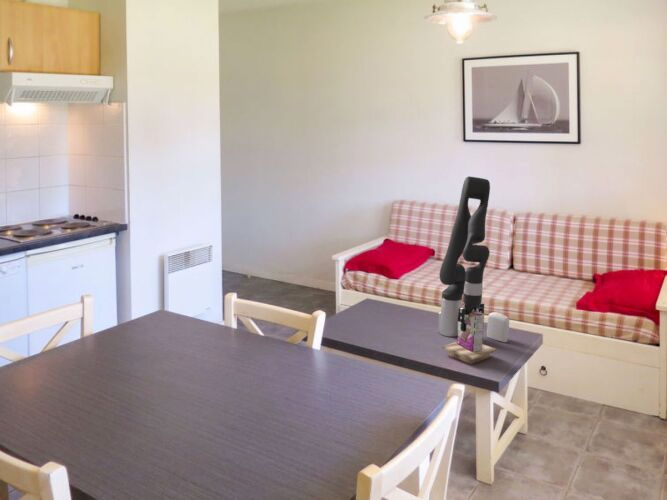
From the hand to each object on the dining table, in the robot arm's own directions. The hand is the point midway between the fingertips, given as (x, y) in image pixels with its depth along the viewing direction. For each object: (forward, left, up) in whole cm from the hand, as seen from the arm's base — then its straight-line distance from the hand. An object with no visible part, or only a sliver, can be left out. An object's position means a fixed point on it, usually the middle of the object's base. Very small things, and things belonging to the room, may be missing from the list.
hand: (469, 329), depth 274 cm
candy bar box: (0, 0, -8) cm, 8 cm away
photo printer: (-6, +28, -12) cm, 31 cm away
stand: (0, 0, -12) cm, 12 cm away
